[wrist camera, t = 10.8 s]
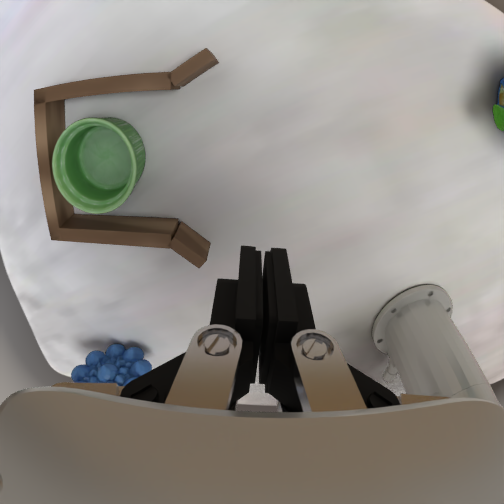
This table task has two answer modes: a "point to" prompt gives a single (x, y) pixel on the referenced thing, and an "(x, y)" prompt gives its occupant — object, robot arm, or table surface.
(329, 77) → the table surface
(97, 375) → the grapes
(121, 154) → the ramekin
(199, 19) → the table surface
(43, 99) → the walnut holder
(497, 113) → the snack cup
